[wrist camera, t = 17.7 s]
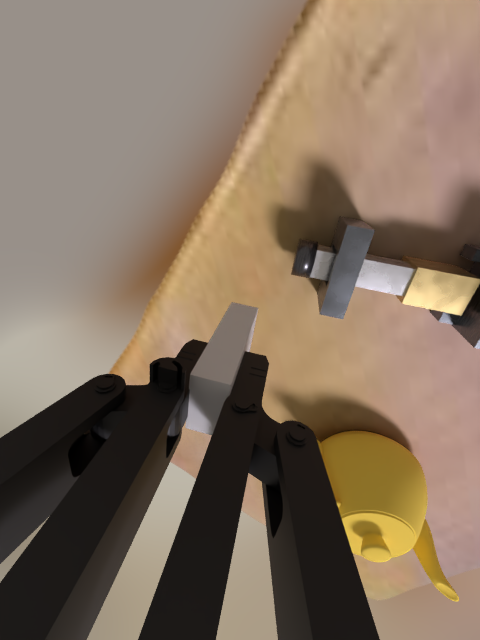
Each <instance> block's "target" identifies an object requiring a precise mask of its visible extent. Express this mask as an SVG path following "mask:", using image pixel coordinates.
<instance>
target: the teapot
mask: <svg viewBox="0 0 480 640" xmlns="http://www.w3.org/2000/svg"><path fill="white" fill-rule="evenodd" d="M317 442H318V445H319V449H320V452H321V455H322V458H323V461H324V464H325V468H326V471H327V474H328V477H329V480H330V483H331V487H332V490H333V493H334V496H335V499H336V503H337V506H338V509H339V512H340V515H341V518H342V522H343V525H344V528H345V531H346V534H347V537H348V541H349V544H350V547H351V550H352V553H354V554H357V555H360V556H363V557H364V558H365V559H367V560H369V561H373V562H385V561H388V560H389V559H390V558H393V557H397V556H400V555H403V554H405V553H407V552H408V551H410V550H411V549H412V548H413V550H414V551H415V553H416V555H417V557H418V559H419V561H420V563H421V564H422V566H423V568H424V570H425V572H426V573H427V575H428V577H429V578H430V580H431V581H432V583H433V584H434V586H435V587H436V588H437V589H438V590H439V591H440V592H441V593H442V594H443V595H445V596H446V597H447V598H449V599H451V600H453V601H459V597H458V595H457V594H456V592H455V591H454V589H453V588H452V587H451V585H450V584H449V582H448V581H447V580H446V578H445V576H444V574H443V572H442V570H441V567H440V565H439V562H438V558H437V555H436V550H435V546H434V542H433V538H432V534H431V531H430V528H429V526H428V524H427V521H426V520H425V514H426V509H427V486H426V481H425V476H424V473H423V470H422V467H421V465H420V463H419V462H418V460H417V459H416V457H415V456H414V455H413V454H412V453H411V452H410V451H409V450H408V449H406V448H405V447H404V446H402V445H401V444H399V443H397V442H395V441H394V440H391V439H389V438H387V437H385V436H382V435H379V434H376V433H372V432H367V431H346V432H341V433H338V434H335V435H332V436H330V437H328V438H327V439H325V440H324V441H322V442H321V443H320V441H319V440H317Z"/></svg>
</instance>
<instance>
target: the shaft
mask: <svg viewBox="0 0 480 640" xmlns="http://www.w3.org/2000/svg"><path fill="white" fill-rule="evenodd" d="M336 255H337V250H336V248H333V247H328V246H322V245H318V242H314V241H308V240H303V239H299V242H298V246H297V250H296V254H295V258H294V263H293V267H292V273H291V275H296V276H301V277H306V278H309V277H311V278H316V279H321V280H326V281H329V277H330V274H331V271H332V268H333V264H334V261H335V258H336ZM415 270H416V269H415V268H414V267H412V266H411V265H410V264H409V263H408V262H406V261H401V260H396V259H390V258H385V257H380V256H375V255H369V254H366V256H365V259H364V262H363V265H362V268H361V270H360V273H359V276H358V279H357V282H356V284H355V286H356V287H361V288H366V289H370V290H375V291H380V292H385V293H390V294H395V295H400V296H404V294H405V292H406V290H407V288H408V285H409V283H410V281H411V279H412V277H413V274H414V272H415Z"/></svg>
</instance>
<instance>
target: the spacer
mask: <svg viewBox="0 0 480 640" xmlns="http://www.w3.org/2000/svg"><path fill="white" fill-rule="evenodd" d="M401 261H406V262H408V263H409V264H410V265H411V266H412V267H414V268H415V269H416V270H415V272H414V274H413V277H412V279H411V281H410V283H409V285H408V288H407V290H406V292H405V294H404V296H400V295H396V296H397V298H398V299H399V300H400V301H401V303H402V304H407V305H412V306H417V307H422V308H427V309H431V310H436V311H441V312H446V313H451V314H456V315H460V316H461V315H462V314H463V312H464V310H465V308H466V307H467V305H468V303H469V301H470V300H471V298H472V296H473V295H474V293H475V291H476V289H477V288H478V286H479V284H480V278H478V277H477V276H475V275H473V274H471V273H470V272H468V271H466V270H465V269H463V268H461V267H459V266H456V265H451V264H446V263H440V262H435V261H430V260H425V259H419V258H414V257H409V256H404V255H403V258H402V260H401Z"/></svg>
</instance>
